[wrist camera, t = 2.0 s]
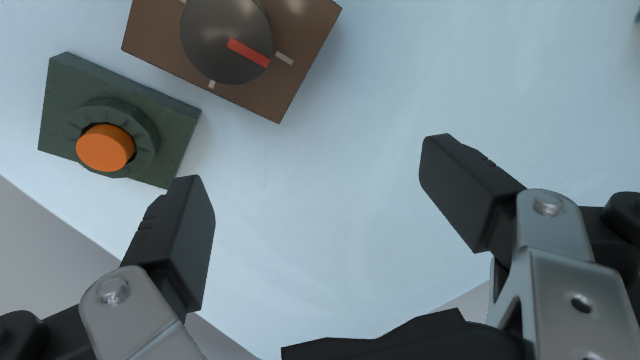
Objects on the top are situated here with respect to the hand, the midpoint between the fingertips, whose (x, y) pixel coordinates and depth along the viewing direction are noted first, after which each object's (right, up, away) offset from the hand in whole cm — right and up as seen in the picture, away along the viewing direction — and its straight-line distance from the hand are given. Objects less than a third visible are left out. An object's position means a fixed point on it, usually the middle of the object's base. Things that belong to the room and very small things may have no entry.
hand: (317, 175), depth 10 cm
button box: (-17, +5, +15) cm, 23 cm away
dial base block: (-6, +12, +12) cm, 18 cm away
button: (-16, +3, +12) cm, 20 cm away
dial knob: (-6, +10, +10) cm, 15 cm away
